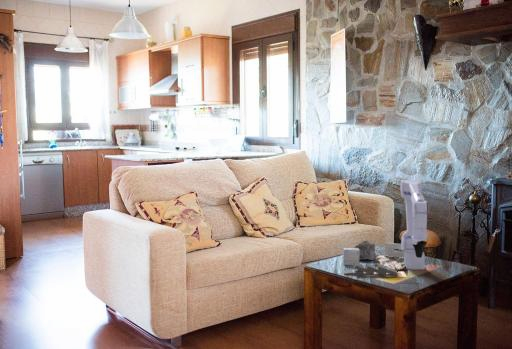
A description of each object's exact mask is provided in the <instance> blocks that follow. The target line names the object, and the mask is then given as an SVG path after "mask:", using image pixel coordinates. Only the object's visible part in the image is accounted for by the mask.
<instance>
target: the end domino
mask: <svg viewBox="0 0 512 349" xmlns="http://www.w3.org/2000/svg"><path fill="white" fill-rule="evenodd" d="M343 275H344V276H362V275H364V272H363V271H360V270H358V269H355V268H354V269H348V270H347V269H345V270H343Z"/></svg>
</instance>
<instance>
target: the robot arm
mask: <svg viewBox="0 0 512 349" xmlns="http://www.w3.org/2000/svg"><path fill="white" fill-rule="evenodd" d="M399 188H400V196H401V198H402V199H404V202H405V219H406V231H405V232H404V233H403V234H402V235H401V238H400V239H401V240H400V244H401V248H402V250H404V259H403V264H404V263H405V265H406V268H405V269H407V270H425V260H426V258H425V252H424V250H425V247H426V245H427V244H428V241H427V240H428V235H427V222H428V214H429V211H430V207H429V206H430V205H429V201H427V200H425V197H424V195H423V194H422V191H423V180H421V179H401V180H400V184H399ZM402 250H401V251H402Z"/></svg>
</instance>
